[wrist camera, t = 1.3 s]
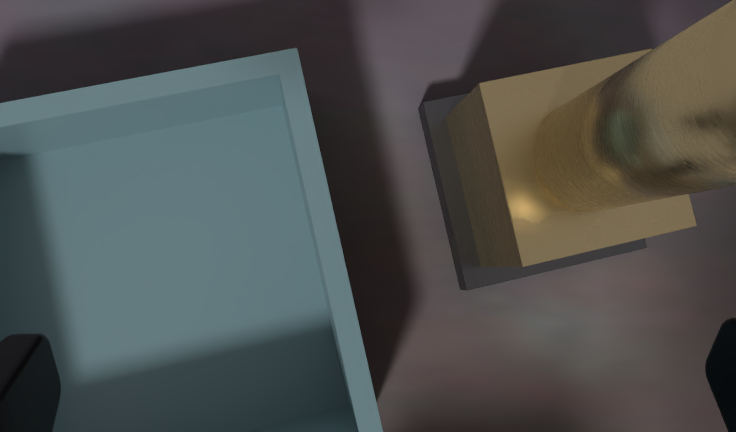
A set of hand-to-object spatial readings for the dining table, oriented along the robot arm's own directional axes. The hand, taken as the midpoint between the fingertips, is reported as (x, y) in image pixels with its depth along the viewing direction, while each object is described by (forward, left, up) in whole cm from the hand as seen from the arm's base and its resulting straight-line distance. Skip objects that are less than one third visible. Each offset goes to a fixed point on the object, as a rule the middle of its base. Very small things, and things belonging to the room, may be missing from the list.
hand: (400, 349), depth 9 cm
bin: (+2, +6, -16) cm, 17 cm away
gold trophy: (+3, -8, -15) cm, 17 cm away
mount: (+3, -8, -16) cm, 18 cm away
